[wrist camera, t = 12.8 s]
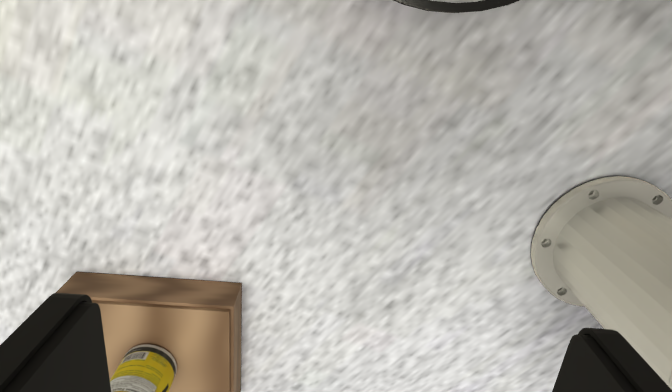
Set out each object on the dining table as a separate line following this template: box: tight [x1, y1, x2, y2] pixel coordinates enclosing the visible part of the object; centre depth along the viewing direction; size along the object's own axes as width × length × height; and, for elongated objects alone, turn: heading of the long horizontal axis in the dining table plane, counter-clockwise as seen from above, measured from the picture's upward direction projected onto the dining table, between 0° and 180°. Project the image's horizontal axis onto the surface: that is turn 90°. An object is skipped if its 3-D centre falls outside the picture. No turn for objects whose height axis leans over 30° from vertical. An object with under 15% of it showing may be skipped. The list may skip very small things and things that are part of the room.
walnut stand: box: [56, 272, 242, 392], centre depth 41 cm, size 15×13×4 cm
